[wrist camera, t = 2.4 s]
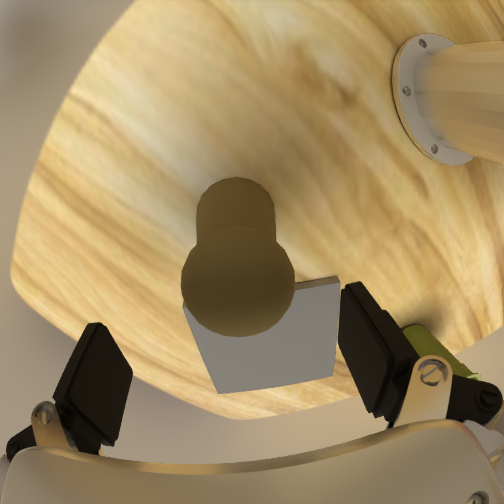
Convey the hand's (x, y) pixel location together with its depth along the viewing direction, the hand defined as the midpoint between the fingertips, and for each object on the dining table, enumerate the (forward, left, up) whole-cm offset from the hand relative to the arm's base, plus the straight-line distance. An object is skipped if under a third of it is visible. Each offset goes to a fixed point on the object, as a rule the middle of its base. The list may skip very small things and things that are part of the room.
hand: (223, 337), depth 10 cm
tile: (-2, +14, -12) cm, 18 cm away
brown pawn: (-1, 0, -13) cm, 13 cm away
